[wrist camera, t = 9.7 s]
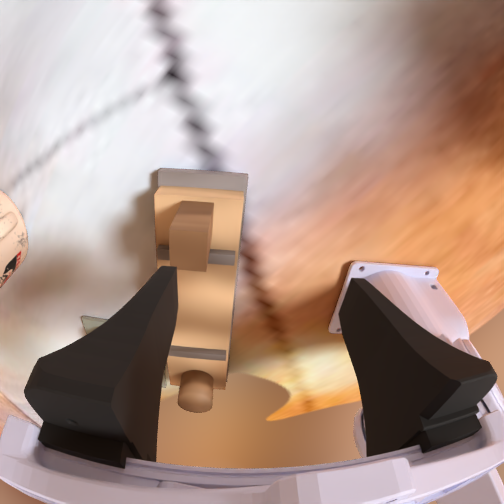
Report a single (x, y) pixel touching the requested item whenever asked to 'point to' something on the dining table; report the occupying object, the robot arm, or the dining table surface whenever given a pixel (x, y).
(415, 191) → the dining table surface
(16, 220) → the teacup with lid
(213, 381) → the plane body
